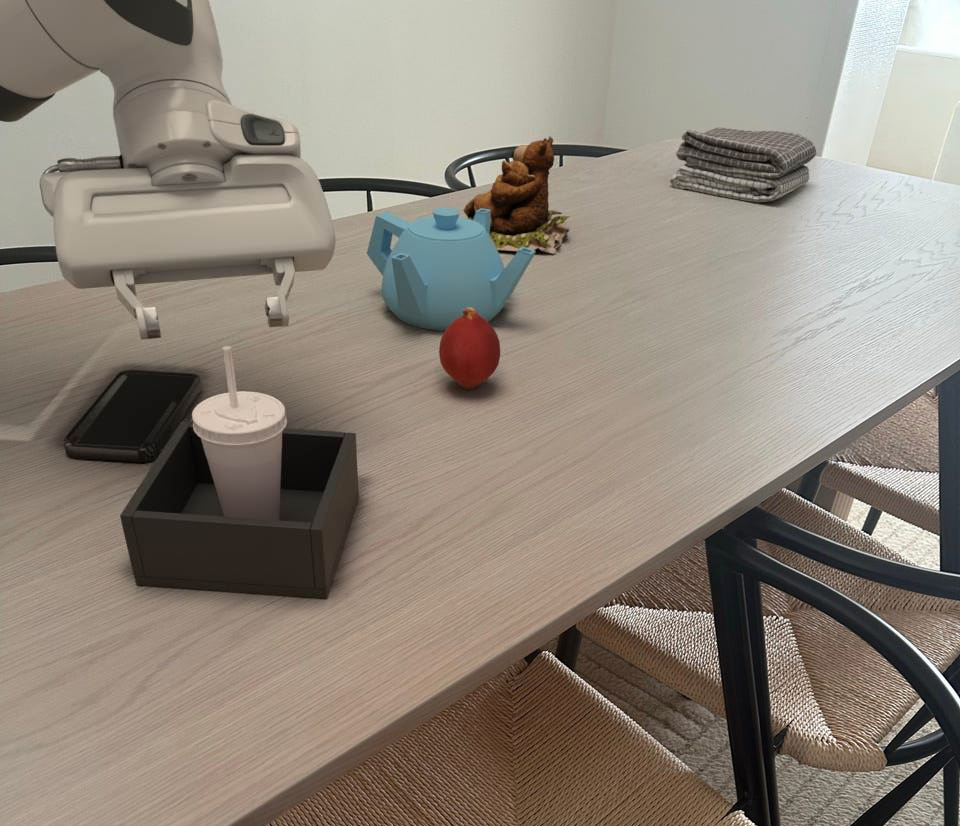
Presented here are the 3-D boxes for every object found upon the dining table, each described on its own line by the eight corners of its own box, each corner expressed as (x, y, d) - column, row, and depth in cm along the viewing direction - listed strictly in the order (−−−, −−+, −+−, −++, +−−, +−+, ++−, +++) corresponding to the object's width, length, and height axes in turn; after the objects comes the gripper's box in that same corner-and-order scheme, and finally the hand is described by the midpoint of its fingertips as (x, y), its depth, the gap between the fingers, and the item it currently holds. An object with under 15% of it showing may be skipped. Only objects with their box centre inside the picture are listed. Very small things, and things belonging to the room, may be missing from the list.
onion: (451, 370, 98) (453, 291, 93) (506, 381, 97) (510, 300, 92) (430, 394, 94) (430, 312, 89) (487, 405, 93) (490, 323, 88)
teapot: (491, 281, 118) (495, 185, 111) (532, 330, 107) (540, 227, 100) (365, 291, 114) (361, 192, 107) (395, 342, 103) (393, 236, 96)
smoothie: (269, 497, 78) (249, 324, 69) (313, 534, 74) (298, 355, 65) (194, 524, 74) (163, 345, 65) (236, 563, 71) (209, 380, 62)
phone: (58, 445, 82) (122, 368, 93) (61, 457, 82) (124, 379, 94) (151, 451, 81) (204, 373, 93) (154, 463, 82) (206, 384, 94)
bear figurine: (474, 214, 138) (478, 118, 130) (578, 229, 134) (588, 131, 126) (439, 244, 128) (440, 141, 120) (551, 261, 124) (559, 156, 116)
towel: (778, 208, 145) (791, 151, 140) (663, 186, 152) (672, 130, 147) (810, 186, 155) (823, 131, 150) (701, 165, 162) (710, 112, 157)
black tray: (135, 585, 69) (119, 515, 66) (192, 485, 80) (181, 420, 76) (327, 599, 69) (321, 529, 65) (359, 497, 80) (355, 432, 76)
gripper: (26, 134, 69) (62, 325, 68) (317, 123, 74) (353, 299, 74) (42, 184, 75) (75, 360, 74) (309, 171, 80) (343, 334, 80)
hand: (216, 330), depth 74 cm, fingers open, 8 cm apart
